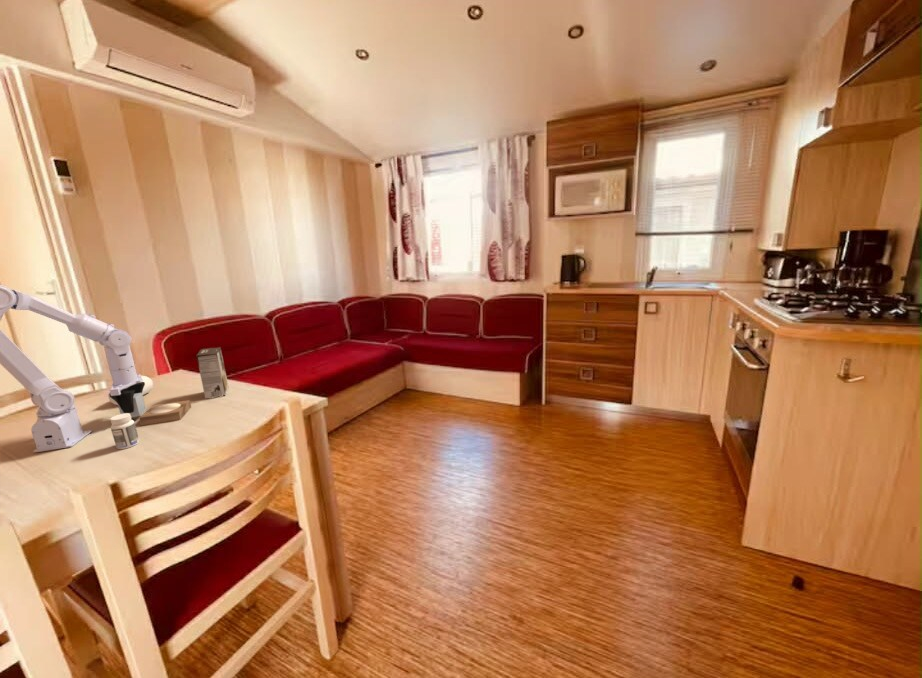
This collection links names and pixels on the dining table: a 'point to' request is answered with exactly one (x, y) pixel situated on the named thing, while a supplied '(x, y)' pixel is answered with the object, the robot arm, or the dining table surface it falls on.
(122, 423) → the pill bottle
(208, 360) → the coffee box
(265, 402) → the dining table surface
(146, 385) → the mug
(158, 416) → the plinth
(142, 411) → the block
